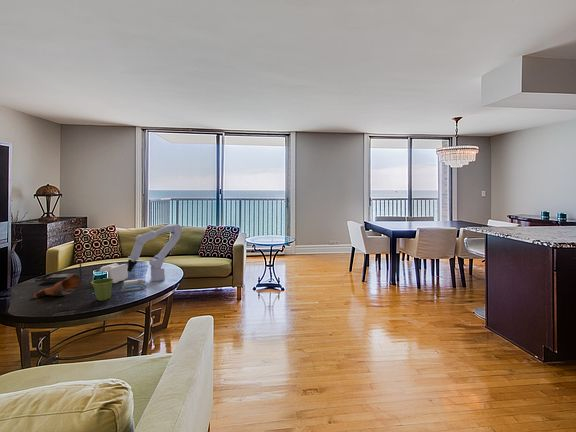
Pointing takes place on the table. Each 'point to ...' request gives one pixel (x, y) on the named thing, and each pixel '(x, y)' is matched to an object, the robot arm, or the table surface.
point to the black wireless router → (61, 276)
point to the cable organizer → (116, 272)
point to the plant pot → (103, 288)
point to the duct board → (133, 287)
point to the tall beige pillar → (133, 282)
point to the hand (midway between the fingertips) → (129, 270)
